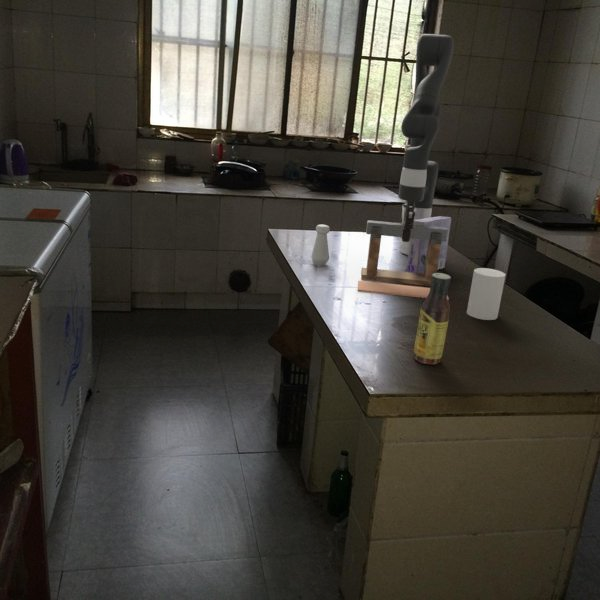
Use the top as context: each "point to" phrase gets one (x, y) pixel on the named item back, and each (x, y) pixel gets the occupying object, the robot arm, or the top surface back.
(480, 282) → the cup
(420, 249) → the cake pan box
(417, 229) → the rail
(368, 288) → the mat
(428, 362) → the sauce bottle
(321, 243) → the salt shaker
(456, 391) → the top surface
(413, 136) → the robot arm
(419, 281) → the rack
